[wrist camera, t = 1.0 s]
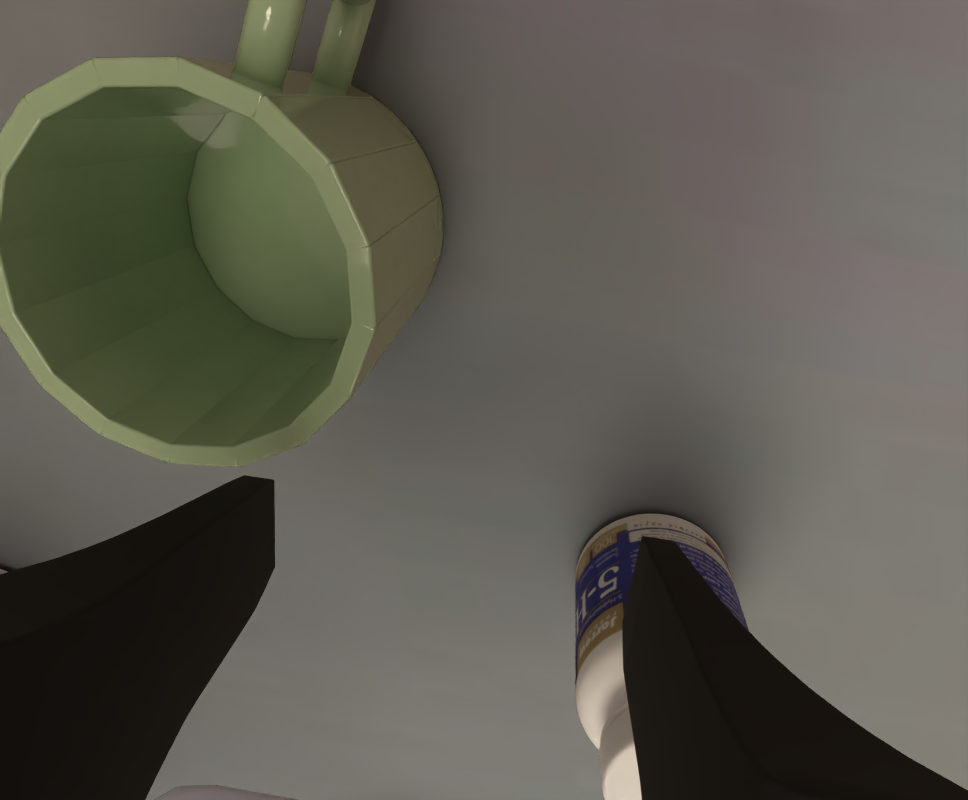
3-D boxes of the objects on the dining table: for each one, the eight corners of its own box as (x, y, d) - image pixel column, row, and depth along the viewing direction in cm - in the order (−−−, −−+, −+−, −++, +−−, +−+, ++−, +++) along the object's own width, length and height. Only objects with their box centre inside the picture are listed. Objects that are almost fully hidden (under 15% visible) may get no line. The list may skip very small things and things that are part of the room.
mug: (392, 384, 24) (306, 521, 16) (159, 287, 24) (-43, 378, 16) (524, 39, 20) (494, -2, 12) (243, -87, 19) (21, -216, 12)
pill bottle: (585, 499, 25) (592, 692, 17) (740, 519, 25) (824, 727, 16) (566, 622, 27) (563, 848, 19) (708, 642, 27) (769, 882, 18)
